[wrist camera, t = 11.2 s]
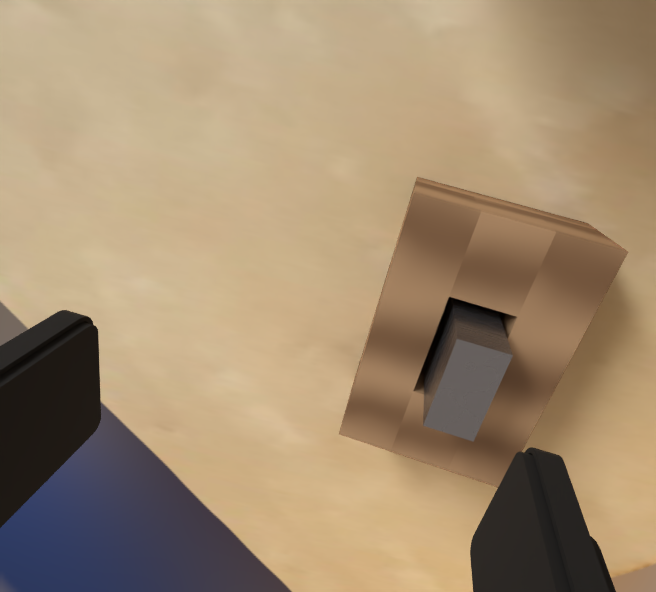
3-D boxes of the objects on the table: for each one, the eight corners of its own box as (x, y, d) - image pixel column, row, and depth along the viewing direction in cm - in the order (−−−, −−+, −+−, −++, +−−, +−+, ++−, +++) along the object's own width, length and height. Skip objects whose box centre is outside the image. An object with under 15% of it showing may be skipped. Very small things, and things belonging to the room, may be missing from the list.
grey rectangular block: (450, 282, 33) (457, 338, 24) (492, 293, 32) (512, 355, 24) (424, 352, 35) (423, 425, 27) (463, 364, 35) (473, 441, 27)
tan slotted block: (417, 176, 32) (413, 192, 26) (588, 223, 31) (628, 251, 25) (353, 382, 40) (338, 433, 33) (490, 426, 39) (501, 488, 32)
